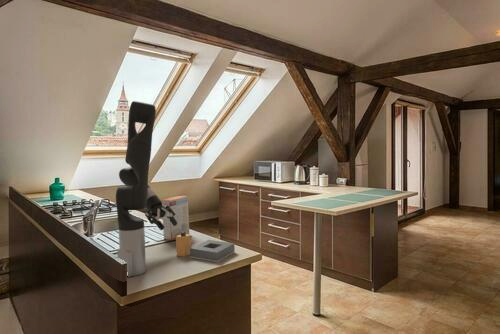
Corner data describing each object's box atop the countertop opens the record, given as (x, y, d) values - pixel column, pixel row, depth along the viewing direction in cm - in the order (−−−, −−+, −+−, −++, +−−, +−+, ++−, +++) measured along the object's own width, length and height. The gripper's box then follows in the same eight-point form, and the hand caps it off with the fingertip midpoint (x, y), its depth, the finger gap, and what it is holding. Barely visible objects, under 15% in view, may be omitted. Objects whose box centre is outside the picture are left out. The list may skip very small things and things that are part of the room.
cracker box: (181, 233, 186) (180, 195, 185) (189, 234, 183) (188, 196, 182) (162, 239, 174) (161, 199, 173) (171, 240, 171) (169, 200, 170)
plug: (184, 256, 147) (183, 233, 146) (176, 255, 149) (175, 232, 148) (190, 253, 151) (190, 231, 150) (183, 252, 153) (182, 230, 152)
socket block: (217, 262, 139) (216, 252, 139) (189, 257, 146) (189, 248, 145) (234, 252, 151) (234, 243, 151) (208, 248, 158) (208, 239, 158)
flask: (185, 240, 171) (185, 221, 170) (195, 243, 166) (194, 223, 166) (174, 244, 165) (173, 224, 165) (183, 246, 161) (183, 226, 160)
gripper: (142, 197, 149) (162, 225, 145) (164, 192, 162) (184, 218, 157) (134, 208, 152) (154, 235, 148) (156, 202, 165) (175, 228, 160)
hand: (169, 226), depth 153 cm, fingers open, 8 cm apart
